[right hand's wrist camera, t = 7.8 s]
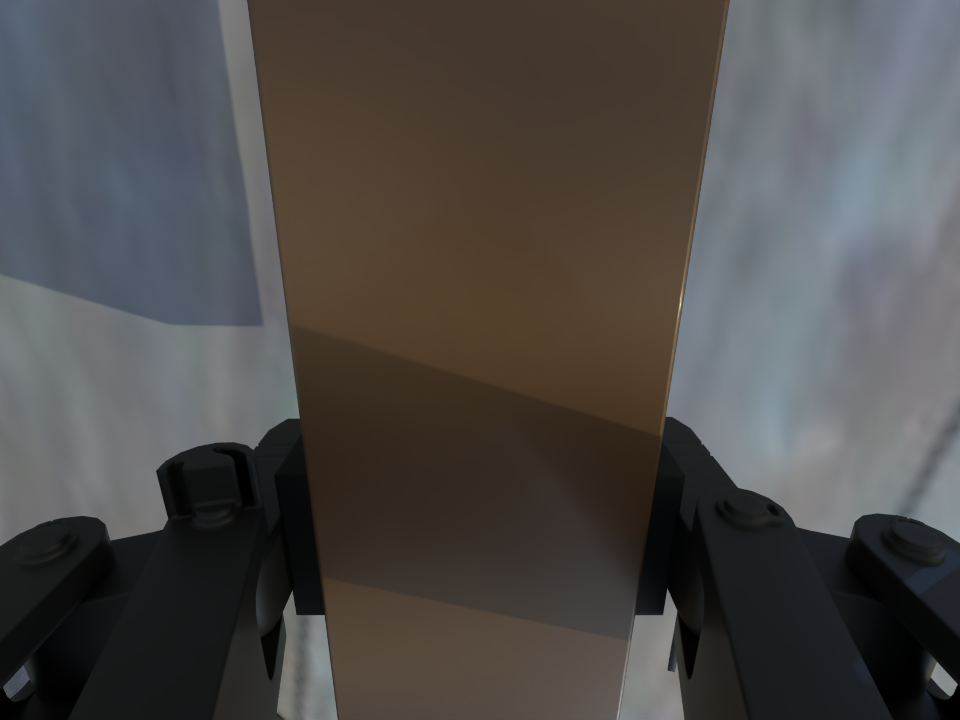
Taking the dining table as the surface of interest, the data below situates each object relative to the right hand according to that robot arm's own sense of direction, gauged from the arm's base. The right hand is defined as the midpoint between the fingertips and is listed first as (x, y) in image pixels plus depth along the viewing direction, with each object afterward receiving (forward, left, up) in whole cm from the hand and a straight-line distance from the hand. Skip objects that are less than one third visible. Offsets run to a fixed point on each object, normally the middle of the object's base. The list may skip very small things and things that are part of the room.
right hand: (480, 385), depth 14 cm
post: (+8, +25, -1) cm, 26 cm away
